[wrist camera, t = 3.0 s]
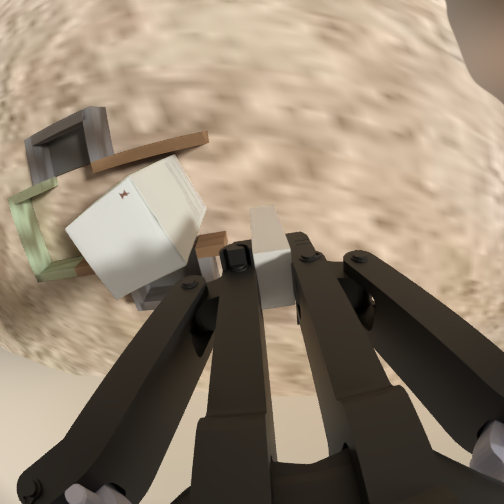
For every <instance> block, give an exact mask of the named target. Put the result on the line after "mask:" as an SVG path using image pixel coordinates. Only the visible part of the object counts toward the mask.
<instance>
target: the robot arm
mask: <svg viewBox="0 0 504 504" xmlns="http://www.w3.org/2000/svg"><path fill="white" fill-rule="evenodd" d="M250 223H251V238H252V239H251V240H244V241H238V242H233V243H232V244H229V245H227V246H225V247H223V248H222V249H220V251H219V255H220V260H221V264H222V269H223V272H222V276H221V277H220V278H218V279H216V280H213V281H210V282H207V283H206V280H205V278H204V277H202V276H199V275H190V276H186V277H183V278H182V279H180V280H178V281H177V282H176V283H175V284H174V286H173V287H172V288H171V289H170V291H169V292H168V293H167V295H166V296H165V297H164V298H163V300H162V301H161V302H160V304H159V305H158V306H157V307H156V309H155V310H154V311H153V313H152V314H151V315H150V317H149V318H148V319H147V321H146V322H145V323H144V325H143V326H142V327H141V329H140V330H139V331H138V333H137V334H136V335H135V337H134V338H133V339H132V341H131V342H130V343H129V345H128V346H127V347H126V349H125V350H124V352H123V353H122V354H121V356H120V357H119V358H118V360H117V361H116V363H115V364H114V365H113V367H112V368H111V370H110V371H109V372H108V374H107V375H106V377H105V378H104V379H103V381H102V382H101V384H100V385H99V387H98V388H97V389H96V391H95V393H94V394H93V395H92V397H91V398H90V400H89V401H88V403H87V404H86V406H85V407H84V408H83V410H82V411H81V413H80V414H79V416H78V417H77V419H76V420H75V422H74V424H73V425H72V426H71V428H70V430H69V431H68V433H67V434H66V436H65V437H64V439H63V440H61V441H60V442H59V443H58V444H57V445H56V446H54V447H53V448H52V449H51V450H49V451H48V452H47V453H46V454H45V455H43V456H42V457H41V458H40V459H39V460H37V461H36V462H35V463H34V464H32V465H31V466H30V467H29V468H28V469H26V470H25V471H24V472H23V473H22V474H21V475H20V477H19V479H18V482H17V494H18V497H19V500H20V501H21V503H22V504H139V503H140V501H141V500H142V498H143V497H144V496H145V494H146V493H147V491H148V489H149V487H150V486H151V484H152V482H153V480H154V478H155V476H156V474H157V471H158V469H159V467H160V465H161V462H162V460H163V458H164V456H165V454H166V451H167V449H168V447H169V445H170V443H171V440H172V438H173V436H174V434H175V432H176V429H177V427H178V425H179V422H180V420H181V418H182V416H183V414H184V411H185V409H186V407H187V405H188V402H189V400H190V398H191V396H192V394H193V391H194V389H195V387H196V385H197V382H198V380H199V378H200V376H201V374H202V371H203V369H204V367H205V365H206V362H207V360H208V358H209V356H210V353H211V351H212V349H213V355H212V365H211V374H210V384H209V394H208V404H207V413H206V416H205V417H204V418H200V420H199V421H198V424H197V429H196V437H195V447H194V457H193V467H192V479H191V486H190V487H188V488H187V489H186V490H184V491H183V492H182V493H181V494H180V495H179V496H178V497H177V498H176V499H175V500H174V501H173V502H171V503H170V504H504V352H503V351H502V350H501V349H499V348H498V347H497V346H496V345H495V344H493V343H492V342H491V341H490V340H489V339H487V338H486V337H485V336H484V335H483V334H481V333H480V332H479V331H478V330H476V329H475V328H474V327H473V326H471V325H470V324H469V323H468V322H466V321H465V320H464V319H463V318H461V317H460V316H459V315H457V314H456V313H455V312H454V311H452V310H451V309H450V308H448V307H447V306H446V305H444V304H443V303H442V302H440V301H439V300H438V299H436V298H435V297H434V296H432V295H431V294H429V293H428V292H427V291H425V290H424V289H423V288H421V287H420V286H418V285H417V284H416V283H414V282H413V281H411V280H410V279H408V278H407V277H406V276H404V275H403V274H401V273H400V272H398V271H397V270H395V269H394V268H392V267H391V266H390V265H388V264H387V263H385V262H384V261H382V260H381V259H379V258H378V257H376V256H375V255H373V254H371V253H369V252H366V251H363V250H359V251H358V250H355V251H351V252H348V253H346V254H345V255H344V257H343V262H332V261H327V260H326V258H325V256H324V255H323V254H322V253H320V252H318V251H315V249H314V247H313V245H312V243H311V242H310V240H309V238H308V236H307V235H306V234H304V233H302V232H295V233H288V234H285V233H284V230H283V227H282V225H281V222H280V219H279V217H278V214H277V211H276V209H275V206H274V204H273V205H266V206H259V207H253V208H250ZM372 297H373V299H374V301H375V302H374V301H373V300H372ZM295 300H296V310H297V325H299V324H300V327H301V331H302V334H303V338H304V343H305V347H306V351H307V355H308V359H309V363H310V367H311V371H312V375H313V380H314V384H315V388H316V392H317V397H318V401H319V405H320V410H321V414H322V419H323V423H324V428H325V432H326V437H327V441H328V447H329V457H327V458H325V459H322V460H320V461H318V462H316V463H313V464H294V463H282V462H278V461H277V453H276V444H275V434H274V422H273V412H272V401H271V391H270V381H269V371H268V360H267V350H266V340H265V330H264V320H263V313H262V310H263V309H270V308H277V307H283V306H290V305H295ZM374 349H375V350H376V351H377V352H378V353H379V354H380V356H381V357H382V358H383V359H384V360H385V361H386V362H387V364H388V365H389V366H390V367H391V368H392V369H393V370H394V371H395V373H396V374H397V375H398V376H399V377H400V378H401V379H402V381H403V382H404V383H405V384H406V385H407V386H408V387H409V389H410V390H411V391H412V392H413V393H414V394H415V395H416V397H417V398H418V399H419V400H420V401H421V402H422V404H423V405H424V406H425V407H426V408H427V410H428V411H429V412H430V413H431V414H432V415H433V417H434V418H435V419H436V420H437V421H438V423H439V424H440V425H441V426H442V427H443V429H444V430H445V431H446V432H447V433H448V434H449V435H450V436H451V437H452V439H453V440H454V441H455V442H457V443H458V444H459V445H460V446H461V447H462V448H464V449H465V450H466V451H468V452H470V453H471V454H473V455H472V459H471V461H470V468H469V467H467V466H465V465H463V464H461V463H459V462H456V461H454V460H452V459H450V458H448V457H446V456H444V455H442V454H440V453H438V452H436V451H434V450H432V448H431V445H430V443H429V440H428V438H427V435H426V433H425V431H424V428H423V426H422V424H421V422H420V419H419V417H418V415H417V413H416V410H415V408H414V406H413V404H412V402H411V400H410V398H409V396H408V394H407V392H406V391H405V389H404V388H403V387H402V386H400V385H396V386H393V385H391V383H390V382H389V380H388V378H387V375H386V373H385V371H384V369H383V367H382V365H381V363H380V361H379V359H378V356H377V354H376V352H375V350H374Z"/></svg>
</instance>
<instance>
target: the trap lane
mask: <svg viewBox="0 0 504 504" xmlns="http://www.w3.org/2000/svg"><path fill="white" fill-rule="evenodd" d="M24 142H25V148H26V154H27V159H28V164H29V168H30V173H31V177H32V181H33V185H34V186H32V187H30V188H28V189H26V190H24V191H22V192H19V193H17V194H15V195H13V196H12V197H10V198H8V203H9V206H10V210H11V213H12V216H13V219H14V222H15V226H16V228H17V231H18V234H19V237H20V240H21V243H22V245H23V248H24V251H25V253H26V256H27V258H28V260H29V263H30V265H31V268H32V270H33V272H34V274H35V277H36V279H37V281H38V282H44V281H51V280H57V279H64V278H71V277H77V276H84V275H91V274H96V273H95V272H94V270H93V269H92V268H91V266H90V265H89V264H88V262H87V261H86V260H85V258H84V257H83V256H80V257H75V258H70V259H65V260H60V261H55V262H52V260H51V258H50V255H49V252H48V250H47V247H46V245H45V242H44V239H43V236H42V234H41V231H40V228H39V225H38V222H37V219H36V216H35V212H34V209H33V206H32V202H31V199H30V198H31V197H33V196H35V195H38V194H40V193H42V192H45V191H47V190H49V189H51V188H53V187H55V186H58V182H57V178H56V176H58V175H60V174H63V173H65V172H68V171H70V170H73V169H76V168H78V167H81V166H84V165H86V164H89V163H91V167H92V171H93V173H96V172H99V171H102V170H105V169H109V168H112V167H115V166H118V165H122V164H125V163H129V162H132V161H136V160H139V159H143V158H147V157H150V156H154V155H158V154H162V153H167V152H171V151H175V150H179V149H184V148H189V147H193V146H198V145H203V144H206V143H209V139H208V133H207V131H204V132H198V133H194V134H189V135H184V136H180V137H176V138H172V139H167V140H163V141H159V142H156V143H152V144H148V145H144V146H141V147H137V148H134V149H131V150H127V151H124V152H121V153H117V154H114V152H113V147H112V142H111V137H110V131H109V126H108V120H107V114H106V108H105V107H93V106H90V107H87V108H85V109H83V110H81V111H79V112H76V113H74V114H72V115H70V116H68V117H66V118H64V119H62V120H60V121H58V122H56V123H54V124H52V125H50V126H48V127H46V128H45V129H43V130H41V131H39V132H37V133H36V134H34V135H32V136H31V137H29V138H27V139H26V140H24ZM227 242H228V240H227V235H226V231H224V232H217V233H211V234H205V235H200V236H199V239H198V241H197V244H196V246H193V247H192V250H191V252H190V255H189V258H188V262H187V265H186V266H184V267H182V268H180V269H178V270H176V271H174V272H172V273H170V274H167V275H165V276H163V277H161V278H159V279H157V280H155V281H153V282H151V283H149V284H147V285H145V286H142V287H140V288H138V289H137V290H135V291H133V292H131V296H132V298H133V300H134V303H135V305H136V307H137V310H138V311H144V310H155V309H156V307H157V306H158V305H159V304H160V302H161V301H162V300H163V298H164V297H165V296H166V295H167V293H168V292H169V291H170V289H171V288H172V287H173V286H174V284H175V283H176V282H177V281H178V280H180V279H182V278H183V277H186V276H190V275H199V276H202V277H204V278H205V280H206V283H207V282H210V281H213V280H216V279H218V278H220V275H219V271H218V267H217V262H216V258H215V256H220V255H219V251H220V249H222V248H223V247H225V246H227Z"/></svg>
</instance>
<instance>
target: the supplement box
mask: <svg viewBox="0 0 504 504" xmlns="http://www.w3.org/2000/svg"><path fill="white" fill-rule="evenodd" d="M206 210H207V207H206V206H205V204H204V202H203V201H202V199H201V197H200V195H199V194H198V192H197V190H196V189H195V187H194V185H193V184H192V182H191V180H190V179H189V177H188V175H187V174H186V172H185V170H184V169H183V167H182V165H181V164H180V162H179V160H178V159H177V157H176V155H175V154H173V155H171V156H168V157H166V158H164V159H162V160H160V161H157V162H155V163H153V164H151V165H149V166H147V167H145V168H143V169H141V170H139V171H137V172H135V173H133V174H130V175H129V176H127V177H126V178H124V179H123V180H122V181H120V182H119V183H118V184H116V185H115V186H114V187H112V188H111V189H110V190H109V191H107V192H106V193H105V194H104V195H102V196H101V197H100V198H99V199H97V200H96V201H95V202H94V203H93V204H92V205H90V206H89V207H88V208H87V209H86V210H85V211H84V212H83V213H81V214H80V215H79V216H78V217H77V218H76V219H75V220H74V221H73V222H72V223H71V224H70V225H69V226H67V227H66V228H65V230H66V232H67V233H68V235H69V236H70V238H71V239H72V241H73V242H74V244H75V245H76V247H77V248H78V250H79V251H80V252H81V254H82V255H83V257H84V258H85V260H86V261H87V262H88V264H89V265H90V266H91V268H92V269H93V270H94V272H95V273H96V274H97V276H98V277H99V278H100V280H101V281H102V282H103V284H104V285H105V286H106V288H107V289H108V290H109V291H110V293H111V294H112V295H113V296H114V298H115V299H116V300H118V299H120V298H121V297H123V296H125V295H127V294H129V293H131V292H133V291H135V290H137V289H138V288H140V287H142V286H145V285H147V284H149V283H151V282H153V281H155V280H157V279H159V278H161V277H163V276H165V275H167V274H170V273H172V272H174V271H176V270H178V269H180V268H182V267H184V266H186V265H187V262H188V258H189V255H190V252H191V250H192V247H193V244H194V241H195V239H196V236H197V233H198V231H199V228H200V226H201V223H202V220H203V218H204V215H205V212H206Z"/></svg>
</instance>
